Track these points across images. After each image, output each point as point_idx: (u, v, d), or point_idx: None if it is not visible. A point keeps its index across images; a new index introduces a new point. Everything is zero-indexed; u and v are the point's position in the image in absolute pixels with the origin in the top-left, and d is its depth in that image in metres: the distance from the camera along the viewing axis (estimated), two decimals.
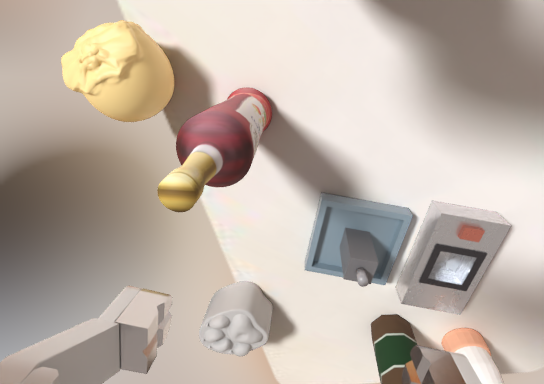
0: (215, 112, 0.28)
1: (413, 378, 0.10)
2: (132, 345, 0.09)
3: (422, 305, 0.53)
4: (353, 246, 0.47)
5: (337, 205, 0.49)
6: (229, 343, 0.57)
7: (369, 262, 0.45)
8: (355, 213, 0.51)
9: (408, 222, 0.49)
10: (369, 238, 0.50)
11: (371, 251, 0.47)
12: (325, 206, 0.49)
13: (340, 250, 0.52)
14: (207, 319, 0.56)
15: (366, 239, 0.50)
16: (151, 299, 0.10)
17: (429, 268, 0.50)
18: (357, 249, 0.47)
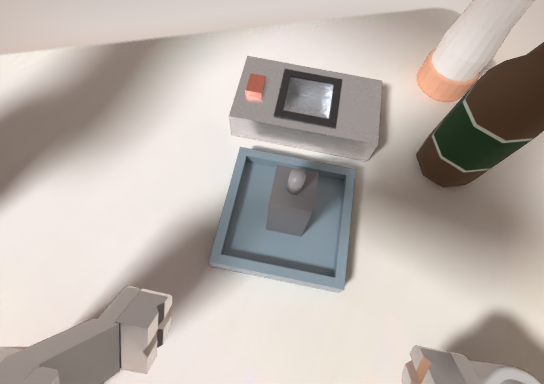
0: None
1: (413, 378, 0.10)
2: (132, 345, 0.09)
3: (376, 120, 0.39)
4: None
5: (219, 238, 0.33)
6: None
7: (276, 176, 0.29)
8: (243, 216, 0.36)
9: (249, 150, 0.38)
10: None
11: None
12: (220, 256, 0.33)
13: (299, 232, 0.34)
14: None
15: None
16: (151, 299, 0.10)
17: (311, 118, 0.38)
18: None
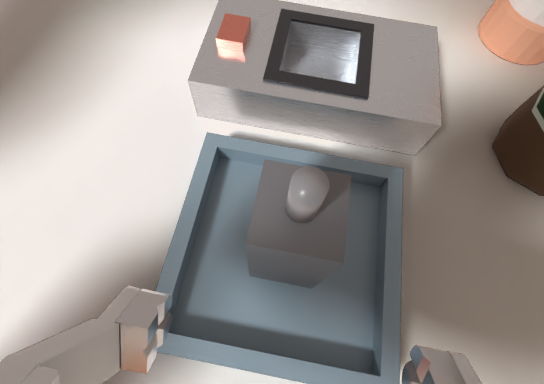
0: None
1: (413, 378, 0.10)
2: (132, 345, 0.09)
3: (433, 86, 0.23)
4: None
5: None
6: None
7: (263, 184, 0.14)
8: (210, 253, 0.21)
9: (223, 138, 0.22)
10: None
11: None
12: None
13: (310, 284, 0.19)
14: None
15: None
16: (151, 299, 0.10)
17: (326, 83, 0.23)
18: None
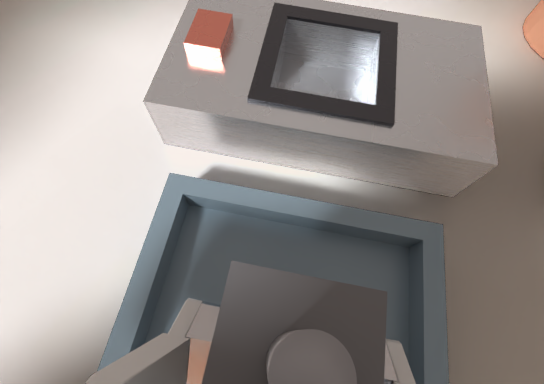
0: None
1: None
2: (201, 360, 0.09)
3: (482, 107, 0.17)
4: None
5: None
6: None
7: (226, 313, 0.08)
8: None
9: (191, 181, 0.16)
10: None
11: None
12: None
13: None
14: None
15: None
16: (214, 312, 0.10)
17: (335, 104, 0.16)
18: None
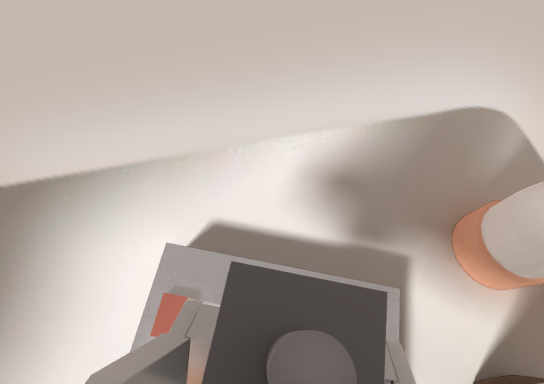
0: None
1: None
2: (201, 360, 0.09)
3: None
4: None
5: None
6: None
7: (226, 314, 0.08)
8: None
9: None
10: None
11: None
12: None
13: None
14: None
15: None
16: (214, 312, 0.10)
17: None
18: None
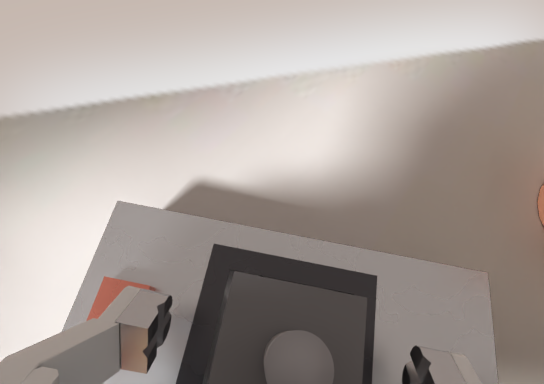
0: None
1: (413, 378, 0.10)
2: (132, 345, 0.09)
3: None
4: None
5: None
6: None
7: (230, 316, 0.09)
8: None
9: None
10: None
11: None
12: None
13: None
14: None
15: None
16: (151, 299, 0.10)
17: None
18: None
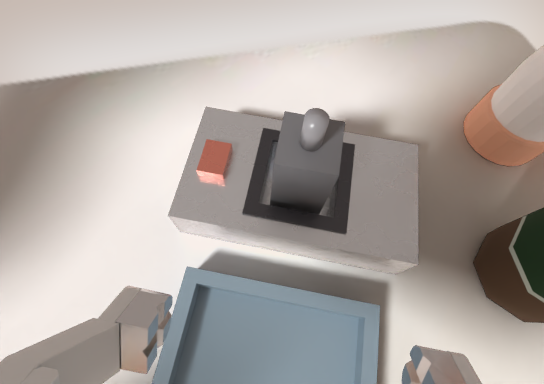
0: None
1: (413, 378, 0.10)
2: (132, 345, 0.09)
3: (412, 217, 0.23)
4: None
5: None
6: None
7: (284, 127, 0.20)
8: None
9: (202, 273, 0.23)
10: None
11: None
12: None
13: (316, 213, 0.25)
14: None
15: None
16: (151, 299, 0.10)
17: (305, 217, 0.23)
18: None
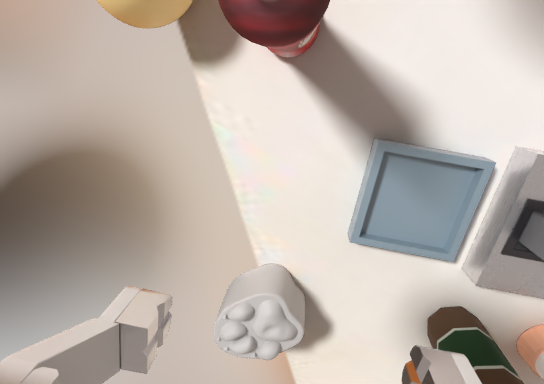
0: None
1: (413, 378, 0.10)
2: (132, 345, 0.09)
3: (503, 287, 0.41)
4: None
5: (399, 149, 0.38)
6: (253, 342, 0.44)
7: None
8: (418, 164, 0.40)
9: (489, 172, 0.38)
10: None
11: None
12: (382, 151, 0.38)
13: None
14: (225, 309, 0.44)
15: None
16: (151, 299, 0.10)
17: (517, 233, 0.38)
18: None
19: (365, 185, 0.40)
